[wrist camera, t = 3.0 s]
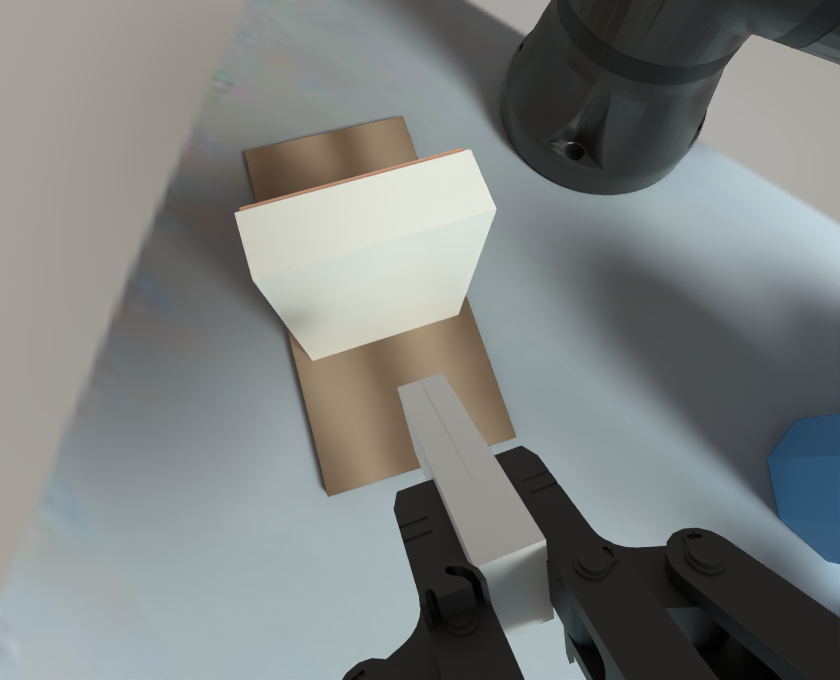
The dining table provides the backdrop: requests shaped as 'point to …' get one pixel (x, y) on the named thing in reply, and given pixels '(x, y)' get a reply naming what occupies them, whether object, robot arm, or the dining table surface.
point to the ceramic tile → (370, 251)
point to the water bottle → (810, 482)
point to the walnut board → (383, 359)
